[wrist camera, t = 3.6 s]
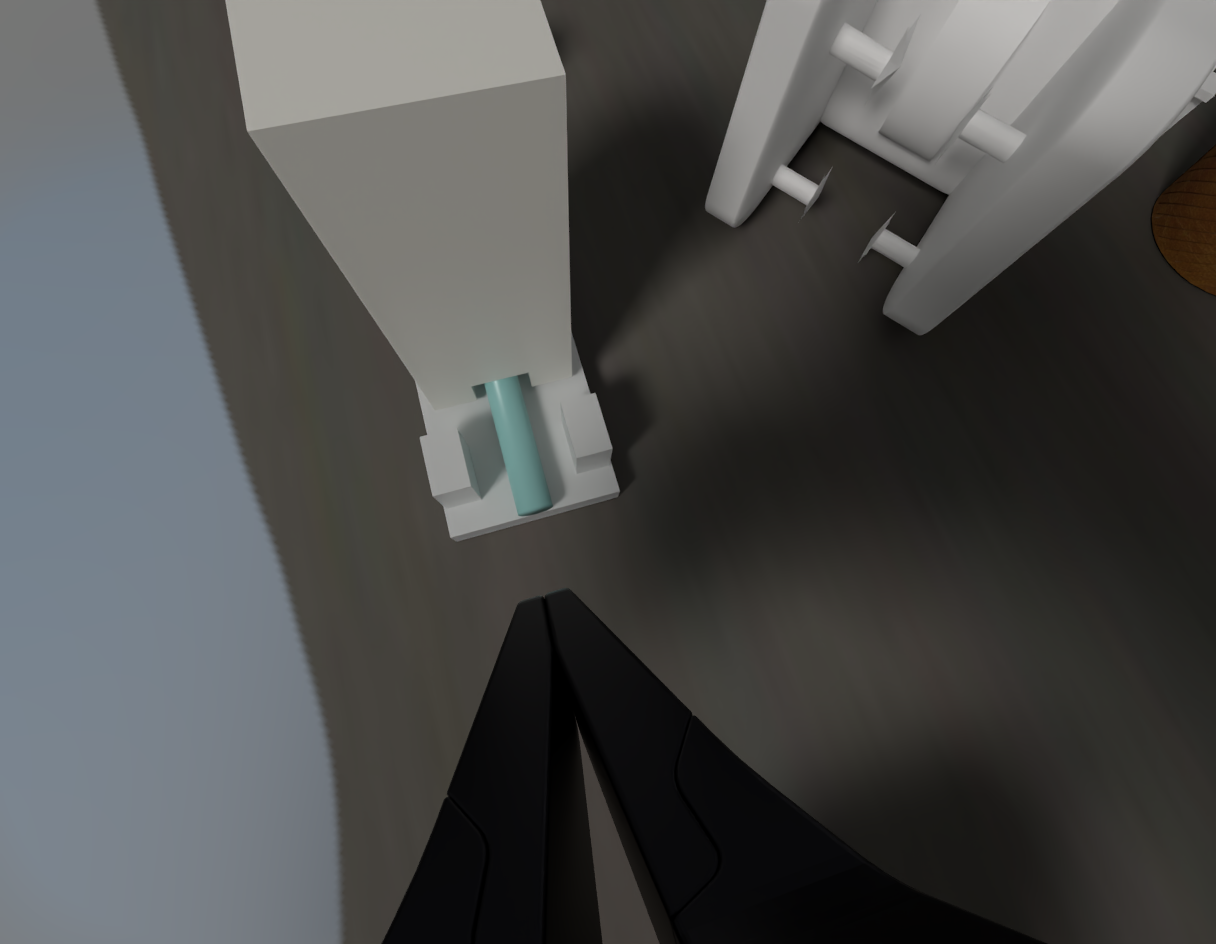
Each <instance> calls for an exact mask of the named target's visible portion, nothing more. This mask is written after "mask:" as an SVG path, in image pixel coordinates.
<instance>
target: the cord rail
mask: <svg viewBox="0 0 1216 944" xmlns="http://www.w3.org/2000/svg"><path fill="white" fill-rule="evenodd" d="M571 350H572V377H569V378H565V379H561V380H557V381H553V382H549V383H545V384H541V385H536V386H532V385H531V382H530V378H529V374H528V373H525V374H521V375H516V376H512V377H508V378H504V379H500V380H496V381H492V382H488V383H484V384H479V385H475V386H474V389H475V393H476V397H477V400H476V401H472V402H468V403H463V404H459V405H455V406H451V407H447V408H443V409H439V410H435V409H434V408H433V406H432V405H431V403H430V402H429V400H428V399H427V397H426V396H425V394H424V393H423V392H422V390H421V389H420V387H419V386H418V384H417V383H416V386H417V391H418V395H419V400H420V404H421V409H422V413H423V418H424V422H425V426H426V431H427V435H426V436H422V437H420V441H421V446H422V451H423V455H424V460H425V464H426V469H427V473H428V478H429V482H430V487H431V491H432V496H433V497H434V498H435V499H436V500H437V501H439V502H440V503H441V504H442V505H443V506H444V511H445V515H446V520H447V524H448V529H449V533H450V537H451V538H452V539H453V540H455V541H456V542H458V541H461V540H465V539H468V538H472V537H476V536H479V535H483V534H486V533H490V532H494V531H497V530H501V529H505V528H508V527H512V526H515V525H519V524H523V523H526V522H530V521H534V520H537V519H541V518H544V517H548V516H552V515H555V514H559V513H562V512H566V511H570V510H573V509H577V508H581V507H584V506H588V505H591V504H595V503H599V502H602V501H606V500H609V499H613V498H617V497H618V495H619V492H620V490H619V486H618V483H617V480H616V477H615V473H614V470H613V467H612V463H611V460H610V459H611V454H612V449H613V448H612V445H611V442H610V439H609V435H608V432H607V429H606V425H605V422H604V419H603V416H602V412H601V409H600V406H599V403H598V399H597V396H596V393H593V394H590V391H589V388H588V385H587V381H586V378H585V375H584V371H583V368H582V365H581V362H580V358H579V355H578V352H577V348H576V345H575V342H574V339H573V335H572V332H571ZM415 382H416V381H415Z"/></svg>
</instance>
